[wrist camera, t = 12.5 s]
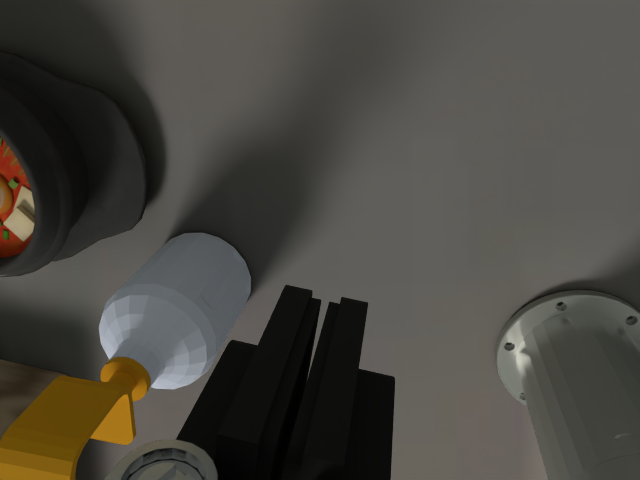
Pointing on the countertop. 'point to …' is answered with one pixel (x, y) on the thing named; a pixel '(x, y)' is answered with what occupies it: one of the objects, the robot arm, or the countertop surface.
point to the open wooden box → (20, 390)
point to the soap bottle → (134, 355)
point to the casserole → (62, 167)
